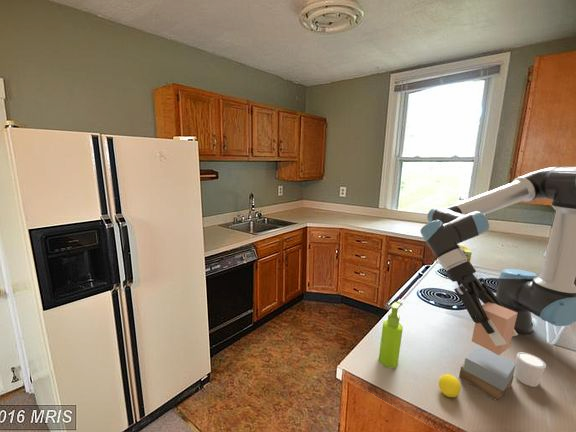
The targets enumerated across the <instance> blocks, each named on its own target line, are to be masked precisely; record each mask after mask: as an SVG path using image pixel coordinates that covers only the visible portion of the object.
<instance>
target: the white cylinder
mask: <svg viewBox="0 0 576 432" xmlns="http://www.w3.org/2000/svg"><path fill="white" fill-rule="evenodd" d="M515 356H516V357H515V363H516V366H515V370H514V377H515V378H516V379H517V380H518V381H519V382H520V383H522V384H524V385H526V386H530V387H533V388H535V387H538V386H539V384H540V382H541V379H542V377H543V376H544V372H545V371H546V368H547V364H546V362H545V361H544V360H543V359H541V358H540V357H538V356H536V355H533V354H531V353H528V352H522V351H519V352H517V353H516V355H515Z"/></svg>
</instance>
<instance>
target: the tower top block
mask: <svg viewBox="0 0 576 432" xmlns="http://www.w3.org/2000/svg"><path fill="white" fill-rule="evenodd" d="M463 363H464V364H463V365H464V368H463V370H465V371H467V372H469V373H471V374H473V375H474V376H476V377H478V378H480V379H482V380H484V381H485V382H487V383H489V384H491V385H493V386H495V387H497V388H498V389H500V390H502V391H504V390H505V388H506V387H507V385H508V383H509V381H510V380H511V378H512V376H513V375H515V366H516V361H515V362H514V361H512V360H511V359H509V358H506V357H504V356H502V355H501V354H500V355H497V354H495V353H493V352H491V351H489V350H488V349H486V348H484V347H482V346H480V345H478V344H476V345H475V346H474V348H473V349H472V350H471V351H470V352H469V353H468V354H467V355H466V357H465V359H464V362H463Z"/></svg>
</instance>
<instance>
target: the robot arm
mask: <svg viewBox="0 0 576 432" xmlns="http://www.w3.org/2000/svg"><path fill="white" fill-rule="evenodd" d="M537 199H543V200H544V199H548V200H552V203H551V207H552V208H553V209H554V210H555V214H554V219H553V223H552V227H551V231H550V235H549V238H548V243H547V247H546V250H545V255H544V259H543V263H542V266H541V271H540V275H538V274H537V273H535V272H532V271H528V270H523V269H517V268H505V269H503V270H501V272H500V276H499V277H498V282H497V287H496V293H494V292H493V290H491V288H490V287H489V286H488V285H487V283H486V281H485V279H484V278H483V277H479V278H478V277H476V276H475V275H474V274H475V273H476V271H477V270H476V269H475V266H473V264H472V263H471V261H470V262H469V261H468V262H467V261H466V260H467V257H466V256H465V254H464V253H463V252H462V250H461V249H460V247H459V246H458V245H460V244H461V243H463V242H466V241H468V240H471V239H473V238H476V237H479V236H480V235H482V234H484V233H486V232H488V230H489V229H490V223H489V220H488V218H487V216H486V215H487V214H490V213H494V212H495V211H497V210H501V209H503V208H506V207H509V206H512V205H514V204H517V203H519V202H530V201H532V200H537ZM426 219H427V221H428V222H427V223H426V224H425V225H423V226H422V227H421V229H420V234H421V237H422V238H423V239H424V241H425V243H426V245H427V246H428V247H429V248H430V250H431V251H432V253H433V254H434V256H435V258H436V259H437V260H438V262H439V264H440V265H441V267H442V268H443V270H446V269H447V271H445V273H446V275H447V276H448V278H449V279H450V280H451V282H453V283H454V282H456V283H457V287H456V288H454V289H453V290H454V292H455V293H456V295H457V296H458V297H459V299H460V301H461V302H462V304H463V306H464V307H465V309H466V311H467V313H468V314H469V316H470V318H471V320H472V321H473V323H475V322H476V323H481V324H482V326H483V327H484V329H485V330H486V332H487V333H488V335H489V336H490V338H491V340H492V341H493V343H494V344H495V346H499V345H503V344H506V341H505V340H504V338H503V337H502V336H501V334H500V333H499V331H498V330H497V328H496V327H495V325H494V324H493V322H492V321H491V319H490V320H488V318H487V316H486V313H485V311H484V310H483V307H482V305H484V304H486V303H488V302H490V303H494V304H497V305H499V306H502V307H504V308H507V309H509V310H512V311H514V312H517V318H516V322H515V326H514V330H513V335H512V337H515V336H518V335H519V334H520V335H525V334H527V335H528V334H531V333H533V329H534V323H533V320H532V319H533V318H532V315H533V314H534V315H535V316H537V317H539V319H541V321H545V322H547V323H549V324H551V325H553V326H556V327H565V326H569V325H572V324H574V323H576V285H575V280H576V166H551V167H545V168H541V169H539V170H535V171H531V172H529V173H526V174H522V175H521V176H517V177H515V178H514V179H512V181H511V182H510V183H507V184H505V185H502V186H499V187H497V188H494V189H492V190H489V191H485V192H483V193H481V194H477V195H475V196H472V197H471V198H470V197H469V198H467V199H464V200H462V201H460V202H457V203H455V204H454V203H453V204H452V205H448V206H446V207H441V206H439V207H438V206H437V207H432V208H431V209H429V211H428V213H427V218H426ZM482 303H483V304H482Z"/></svg>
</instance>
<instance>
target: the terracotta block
mask: <svg viewBox="0 0 576 432" xmlns="http://www.w3.org/2000/svg"><path fill="white" fill-rule="evenodd" d="M481 305H482V307H483V310H484V311H485V313H486V316H487V318H488V320H490V319H491V321H492V322H493V324H494V325H495V327H496V328H497V330H498V331H499V333H500V334H501V336H502V337H503V338H504V340H505V341H506V344H503V345H499V346H495V344H494V343H493V341H492V340H491V338H490V336H489V335H488V333H487V332H486V330H485V329H484V327H483V326H482V324H481V323H476V322H474V327H473V332H472V337H471V342H472V343H474V344H476V345H479V346H481V347H483V348H485V349H487V350H489V351H491V352H493V353H495V354H497V355H500V356H501V355H502V353H504V352H505V351H507V350H508V349H509V348H511V347H510V346H511V343H512V338H513V336H512V335H513V330H514V326H515V322H516V318H517V312H514V311H512V310H509V309H507V308H504V307H502V306H499V305H497V304H494V303H490V302H488V303H486V304H484V303H483V304H481Z"/></svg>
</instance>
